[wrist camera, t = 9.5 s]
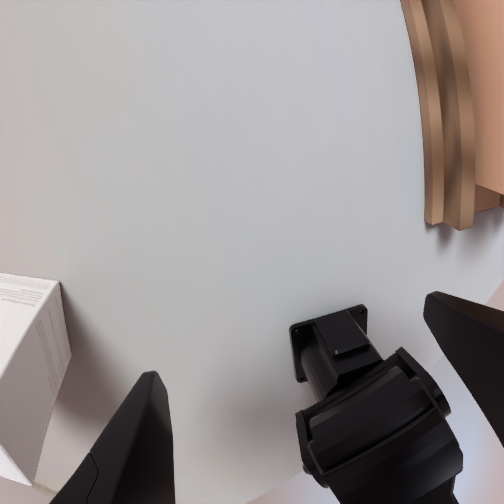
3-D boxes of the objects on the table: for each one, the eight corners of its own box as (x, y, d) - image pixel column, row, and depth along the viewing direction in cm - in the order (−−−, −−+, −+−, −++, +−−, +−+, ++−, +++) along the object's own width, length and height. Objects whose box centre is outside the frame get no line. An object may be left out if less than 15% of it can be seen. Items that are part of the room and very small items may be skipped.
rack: (507, 198, 24) (528, 208, 21) (424, 220, 23) (448, 234, 20) (483, -17, 14) (504, -22, 12) (384, -50, 13) (406, -63, 11)
